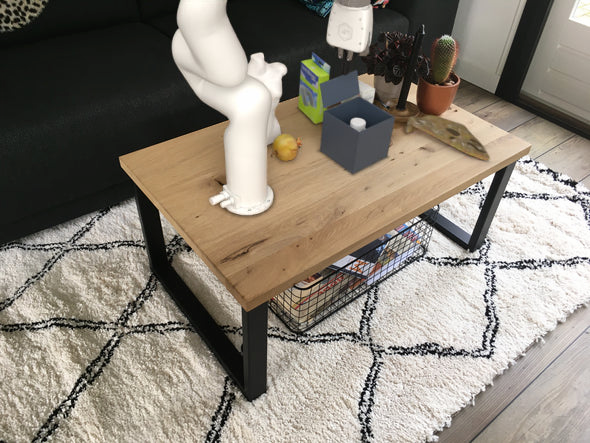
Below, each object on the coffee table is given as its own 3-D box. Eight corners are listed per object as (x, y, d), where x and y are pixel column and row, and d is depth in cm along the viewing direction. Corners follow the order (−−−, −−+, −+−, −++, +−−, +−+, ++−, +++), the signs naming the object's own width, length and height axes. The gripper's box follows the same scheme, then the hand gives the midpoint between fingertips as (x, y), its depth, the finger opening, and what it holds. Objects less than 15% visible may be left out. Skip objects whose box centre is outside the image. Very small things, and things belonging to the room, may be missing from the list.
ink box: (370, 124, 148) (376, 88, 140) (358, 129, 146) (363, 93, 138) (350, 112, 153) (354, 76, 145) (338, 117, 151) (342, 81, 142)
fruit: (278, 153, 126) (310, 140, 130) (264, 134, 129) (295, 123, 133) (274, 170, 132) (305, 158, 136) (261, 152, 134) (291, 140, 139)
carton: (353, 174, 130) (359, 133, 122) (320, 150, 137) (323, 110, 129) (387, 156, 137) (395, 116, 128) (353, 135, 144) (359, 96, 135)
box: (297, 108, 154) (300, 54, 142) (309, 105, 155) (312, 51, 143) (314, 125, 147) (319, 69, 135) (326, 121, 148) (332, 66, 137)
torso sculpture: (240, 159, 133) (236, 71, 116) (222, 141, 139) (216, 55, 122) (296, 139, 141) (300, 54, 124) (276, 123, 147) (278, 40, 130)
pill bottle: (347, 159, 134) (351, 128, 127) (340, 148, 138) (344, 117, 131) (366, 157, 135) (371, 126, 129) (359, 145, 139) (364, 115, 132)
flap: (320, 83, 125) (319, 83, 126) (324, 108, 128) (323, 108, 129) (357, 70, 132) (356, 70, 132) (360, 93, 135) (359, 93, 135)
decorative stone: (401, 132, 145) (407, 117, 142) (423, 118, 155) (430, 104, 152) (478, 175, 136) (487, 159, 133) (497, 157, 146) (505, 142, 143)
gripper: (317, -6, 114) (312, 70, 127) (376, 10, 109) (365, 87, 121) (333, -14, 119) (326, 59, 131) (391, 0, 113) (378, 75, 126)
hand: (345, 72), depth 126 cm, fingers closed
